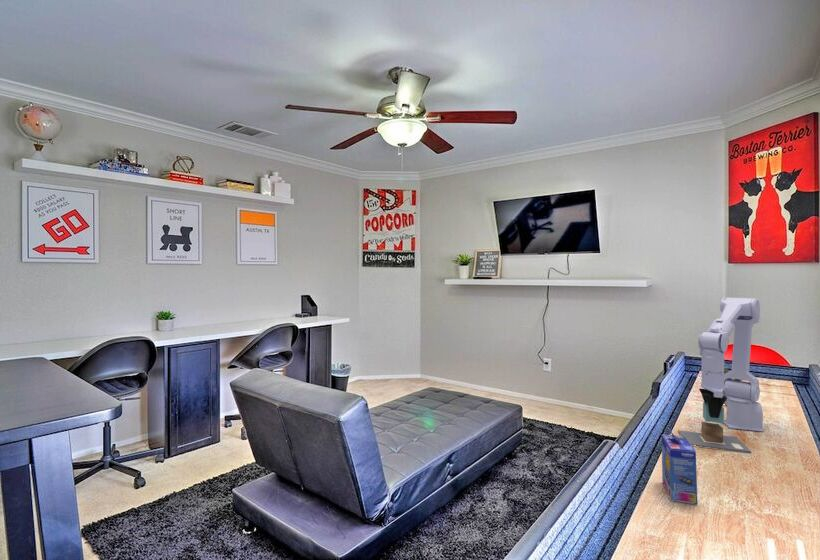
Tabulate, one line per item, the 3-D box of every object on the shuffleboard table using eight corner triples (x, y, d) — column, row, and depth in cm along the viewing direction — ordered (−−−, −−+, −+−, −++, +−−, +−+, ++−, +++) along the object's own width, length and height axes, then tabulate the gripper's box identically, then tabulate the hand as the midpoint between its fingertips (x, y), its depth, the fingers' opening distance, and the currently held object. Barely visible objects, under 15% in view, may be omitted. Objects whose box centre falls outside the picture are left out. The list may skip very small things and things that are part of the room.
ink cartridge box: (660, 481, 107) (660, 423, 107) (685, 485, 105) (686, 426, 105) (669, 501, 98) (670, 438, 98) (698, 505, 96) (698, 441, 96)
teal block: (720, 418, 134) (720, 404, 134) (723, 423, 130) (724, 408, 130) (702, 416, 136) (702, 402, 136) (706, 421, 132) (706, 406, 132)
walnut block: (718, 438, 134) (718, 423, 134) (722, 443, 130) (723, 428, 130) (701, 436, 136) (701, 422, 136) (705, 441, 132) (705, 426, 132)
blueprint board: (736, 438, 136) (736, 436, 136) (751, 453, 125) (751, 451, 125) (677, 432, 141) (677, 430, 141) (686, 445, 130) (686, 443, 130)
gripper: (735, 377, 125) (734, 424, 125) (722, 367, 138) (721, 409, 138) (706, 375, 127) (705, 420, 128) (696, 365, 141) (695, 407, 141)
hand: (712, 415), depth 133 cm, fingers closed on teal block, 4 cm apart
